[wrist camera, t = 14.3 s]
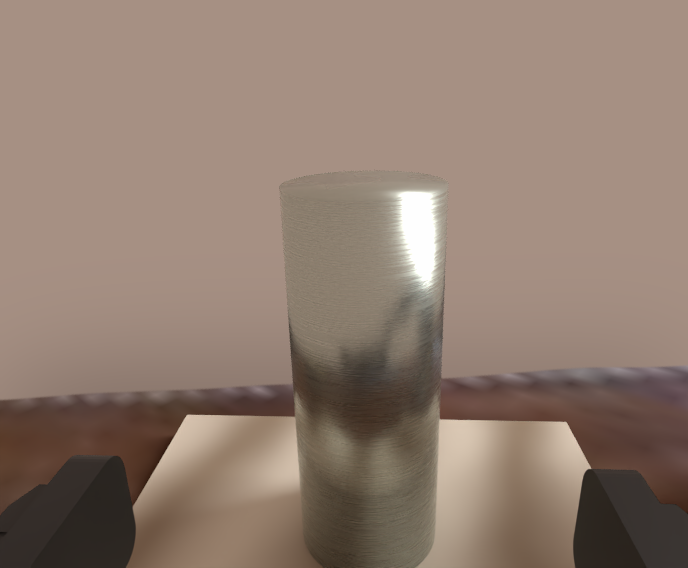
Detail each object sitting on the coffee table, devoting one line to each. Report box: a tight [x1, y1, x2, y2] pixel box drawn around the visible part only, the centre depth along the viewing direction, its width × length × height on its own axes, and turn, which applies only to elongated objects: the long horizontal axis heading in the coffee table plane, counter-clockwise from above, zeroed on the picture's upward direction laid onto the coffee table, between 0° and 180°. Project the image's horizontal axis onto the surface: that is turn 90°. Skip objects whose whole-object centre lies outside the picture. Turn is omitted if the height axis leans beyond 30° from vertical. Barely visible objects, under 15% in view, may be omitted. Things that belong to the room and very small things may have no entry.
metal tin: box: [279, 171, 448, 568], centre depth 19 cm, size 5×5×13 cm
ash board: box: [126, 415, 591, 568], centre depth 21 cm, size 19×14×1 cm
